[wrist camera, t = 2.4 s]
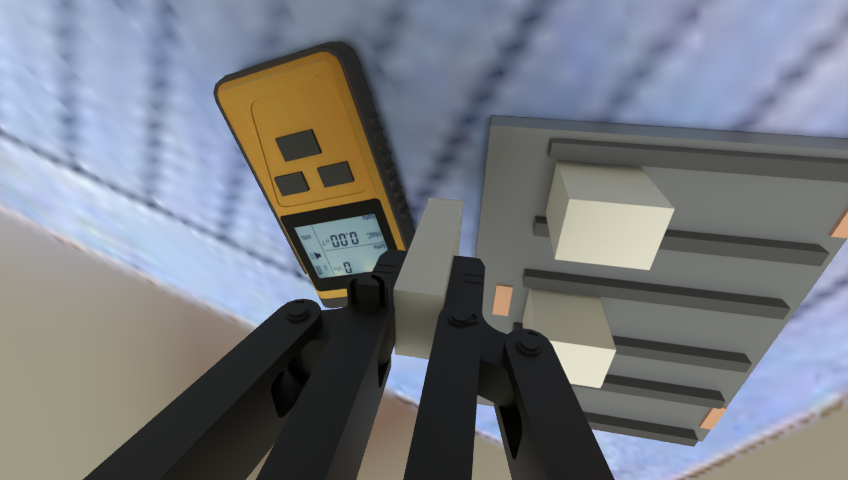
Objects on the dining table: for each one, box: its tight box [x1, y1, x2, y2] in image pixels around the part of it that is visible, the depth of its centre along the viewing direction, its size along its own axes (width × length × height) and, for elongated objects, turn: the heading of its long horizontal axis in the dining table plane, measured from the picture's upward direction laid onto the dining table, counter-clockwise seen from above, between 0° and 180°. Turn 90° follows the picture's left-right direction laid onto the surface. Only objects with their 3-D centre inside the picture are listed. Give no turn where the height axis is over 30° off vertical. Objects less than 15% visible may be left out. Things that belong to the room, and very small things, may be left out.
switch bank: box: [475, 115, 848, 446], centre depth 24 cm, size 22×18×3 cm
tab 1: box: [546, 161, 675, 270], centre depth 18 cm, size 3×4×4 cm
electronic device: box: [214, 42, 415, 308], centre depth 24 cm, size 8×16×3 cm, turn 15°
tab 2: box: [523, 288, 616, 388], centre depth 22 cm, size 3×4×4 cm
